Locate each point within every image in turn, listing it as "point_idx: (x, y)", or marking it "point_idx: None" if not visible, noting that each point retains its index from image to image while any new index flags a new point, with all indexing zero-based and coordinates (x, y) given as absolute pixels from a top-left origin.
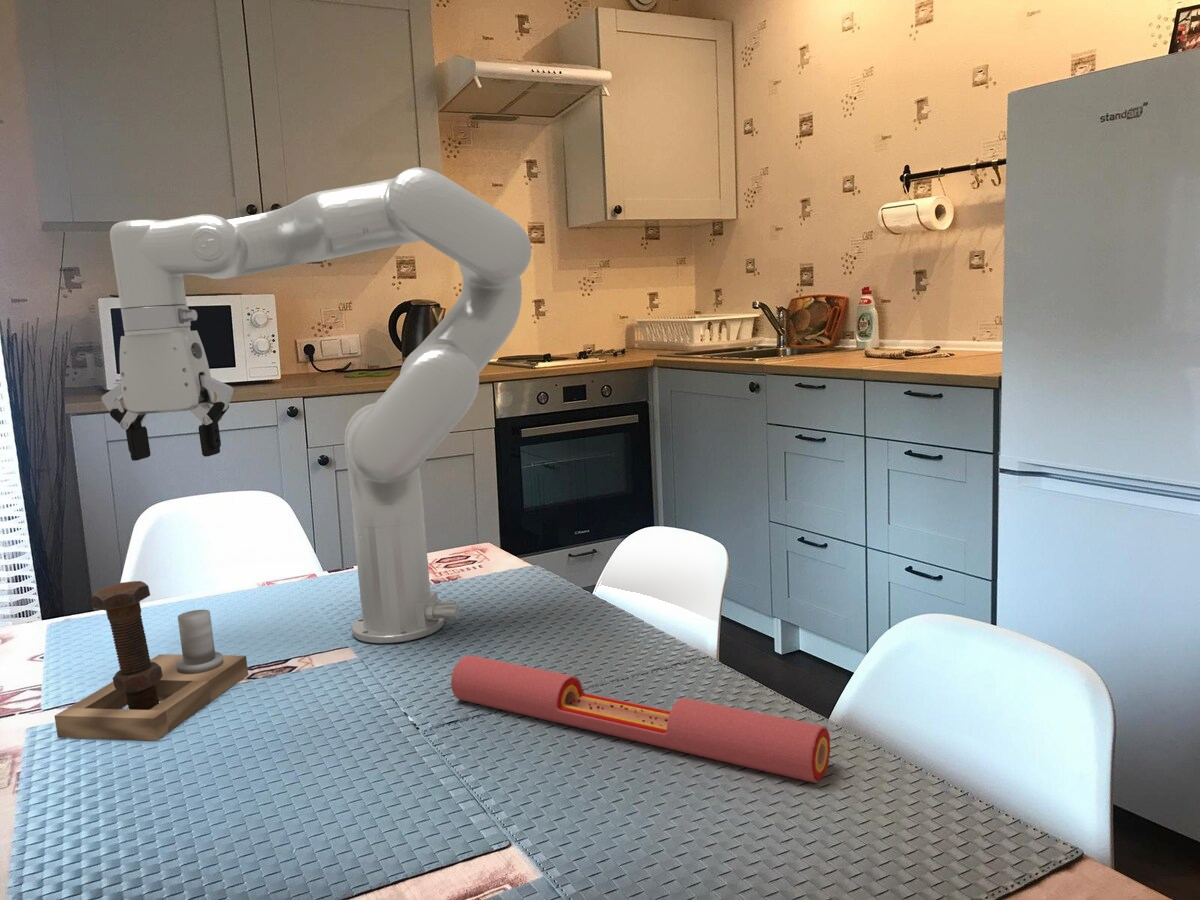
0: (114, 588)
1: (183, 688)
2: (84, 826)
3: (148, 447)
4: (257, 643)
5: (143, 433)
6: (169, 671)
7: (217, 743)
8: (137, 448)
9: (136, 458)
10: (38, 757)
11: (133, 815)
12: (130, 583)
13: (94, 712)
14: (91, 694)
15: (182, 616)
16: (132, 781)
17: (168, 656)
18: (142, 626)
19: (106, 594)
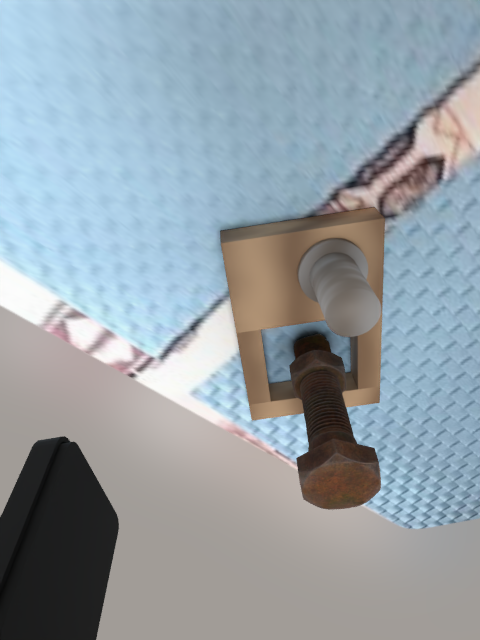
0: (331, 487)
1: (360, 336)
2: (406, 485)
3: (59, 489)
4: (298, 55)
5: (38, 619)
6: (296, 296)
7: (444, 375)
8: (101, 569)
9: (116, 527)
10: (268, 431)
11: (437, 469)
12: (344, 470)
13: (293, 405)
14: (245, 374)
15: (337, 325)
16: (400, 439)
17: (245, 248)
18: (349, 423)
19: (341, 505)
